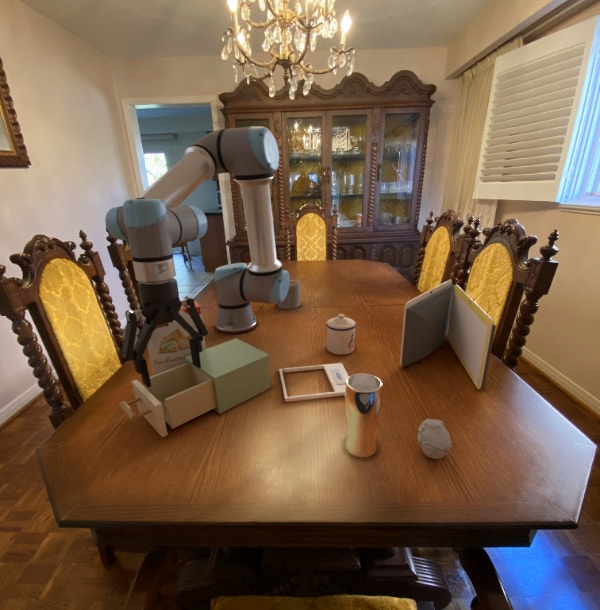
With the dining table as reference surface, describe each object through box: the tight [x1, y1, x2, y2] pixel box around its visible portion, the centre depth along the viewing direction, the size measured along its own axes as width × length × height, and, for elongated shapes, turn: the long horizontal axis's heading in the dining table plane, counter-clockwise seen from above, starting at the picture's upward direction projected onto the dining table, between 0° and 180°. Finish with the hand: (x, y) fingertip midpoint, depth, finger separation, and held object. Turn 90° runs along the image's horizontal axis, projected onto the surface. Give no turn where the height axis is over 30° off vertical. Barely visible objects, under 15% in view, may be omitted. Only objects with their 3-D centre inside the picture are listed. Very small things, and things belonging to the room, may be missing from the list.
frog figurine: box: [416, 418, 452, 460], centre depth 66 cm, size 6×7×7 cm
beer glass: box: [344, 372, 383, 458], centre depth 66 cm, size 7×7×15 cm
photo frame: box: [278, 362, 350, 403], centre depth 92 cm, size 15×1×18 cm
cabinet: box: [184, 337, 272, 414], centre depth 88 cm, size 16×15×10 cm
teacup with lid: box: [325, 313, 357, 356], centre depth 109 cm, size 12×9×12 cm
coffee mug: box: [277, 279, 301, 310], centre depth 149 cm, size 13×10×10 cm
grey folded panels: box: [399, 279, 497, 390], centre depth 100 cm, size 35×22×20 cm, turn 174°
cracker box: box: [141, 300, 207, 376], centre depth 92 cm, size 14×6×21 cm, turn 117°
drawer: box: [118, 362, 217, 438], centre depth 78 cm, size 19×13×8 cm
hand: (173, 374), depth 78 cm, fingers open, 11 cm apart
